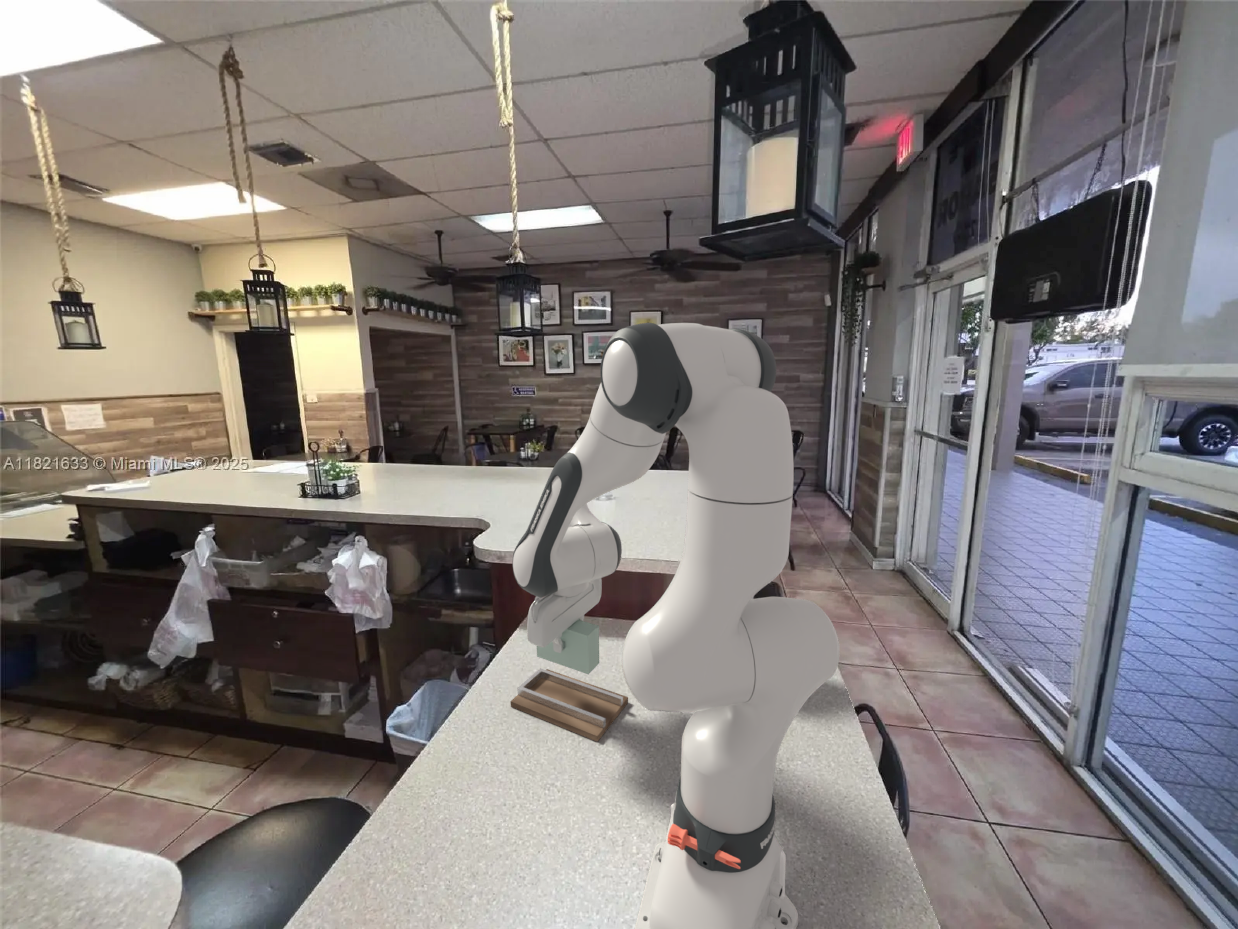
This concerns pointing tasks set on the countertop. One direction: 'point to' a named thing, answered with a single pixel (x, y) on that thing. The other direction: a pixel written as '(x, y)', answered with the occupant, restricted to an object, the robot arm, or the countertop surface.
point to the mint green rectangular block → (576, 648)
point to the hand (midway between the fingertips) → (567, 643)
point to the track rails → (564, 707)
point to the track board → (574, 699)
